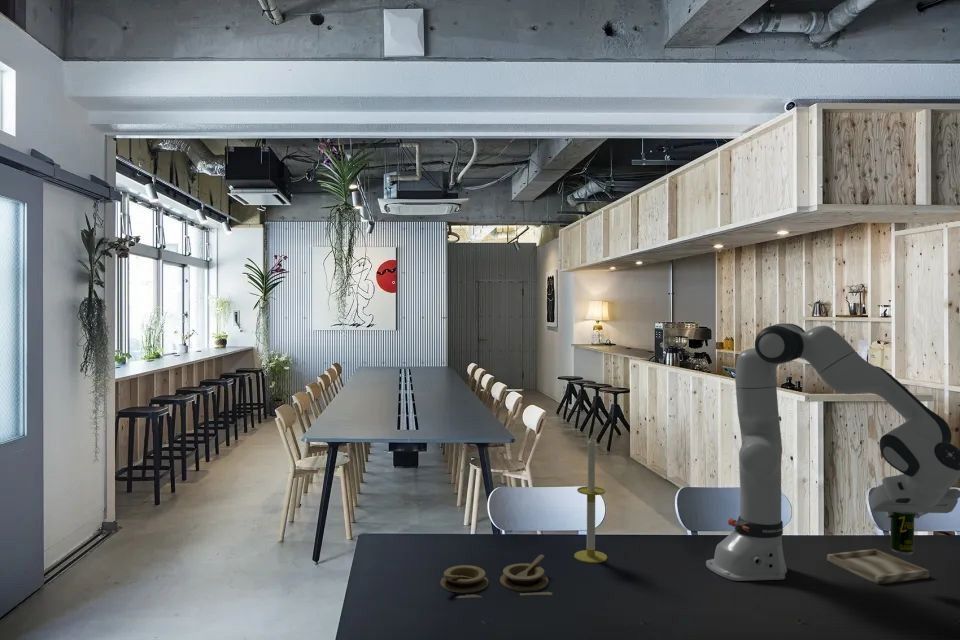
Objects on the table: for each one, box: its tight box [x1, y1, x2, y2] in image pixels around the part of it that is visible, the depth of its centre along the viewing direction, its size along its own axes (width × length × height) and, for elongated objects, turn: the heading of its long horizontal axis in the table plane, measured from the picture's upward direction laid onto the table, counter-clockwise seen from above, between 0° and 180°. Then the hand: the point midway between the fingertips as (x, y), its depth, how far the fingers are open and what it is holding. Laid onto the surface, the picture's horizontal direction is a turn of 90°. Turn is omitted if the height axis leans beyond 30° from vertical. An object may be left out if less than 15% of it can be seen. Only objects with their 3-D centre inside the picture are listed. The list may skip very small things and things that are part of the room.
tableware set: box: [439, 554, 553, 599], centre depth 184 cm, size 30×20×6 cm, turn 96°
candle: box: [573, 433, 608, 564], centre depth 203 cm, size 10×10×38 cm
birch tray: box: [826, 548, 930, 585], centre depth 194 cm, size 18×18×2 cm
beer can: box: [889, 512, 915, 556], centre depth 181 cm, size 5×5×12 cm
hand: (901, 515), depth 182 cm, fingers closed on beer can, 5 cm apart
